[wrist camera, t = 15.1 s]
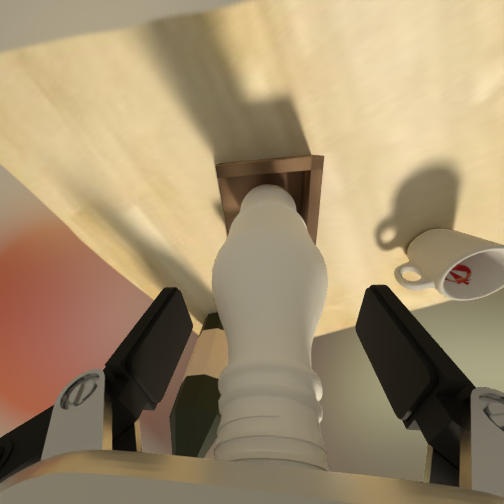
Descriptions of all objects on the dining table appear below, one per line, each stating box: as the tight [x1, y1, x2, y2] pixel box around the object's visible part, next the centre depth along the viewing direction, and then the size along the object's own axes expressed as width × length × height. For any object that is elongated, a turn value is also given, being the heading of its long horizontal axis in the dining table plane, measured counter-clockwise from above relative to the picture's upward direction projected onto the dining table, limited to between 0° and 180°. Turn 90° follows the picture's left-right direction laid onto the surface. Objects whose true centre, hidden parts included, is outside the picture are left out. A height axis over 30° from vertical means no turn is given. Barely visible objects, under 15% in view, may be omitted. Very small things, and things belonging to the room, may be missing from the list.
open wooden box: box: [216, 155, 324, 245], centre depth 24 cm, size 12×12×6 cm
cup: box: [394, 228, 504, 300], centre depth 25 cm, size 11×8×8 cm
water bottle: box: [212, 184, 330, 471], centre depth 15 cm, size 7×7×25 cm
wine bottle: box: [169, 312, 228, 458], centre depth 28 cm, size 8×8×30 cm
